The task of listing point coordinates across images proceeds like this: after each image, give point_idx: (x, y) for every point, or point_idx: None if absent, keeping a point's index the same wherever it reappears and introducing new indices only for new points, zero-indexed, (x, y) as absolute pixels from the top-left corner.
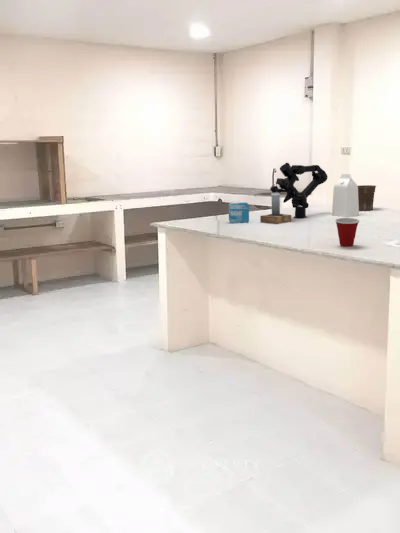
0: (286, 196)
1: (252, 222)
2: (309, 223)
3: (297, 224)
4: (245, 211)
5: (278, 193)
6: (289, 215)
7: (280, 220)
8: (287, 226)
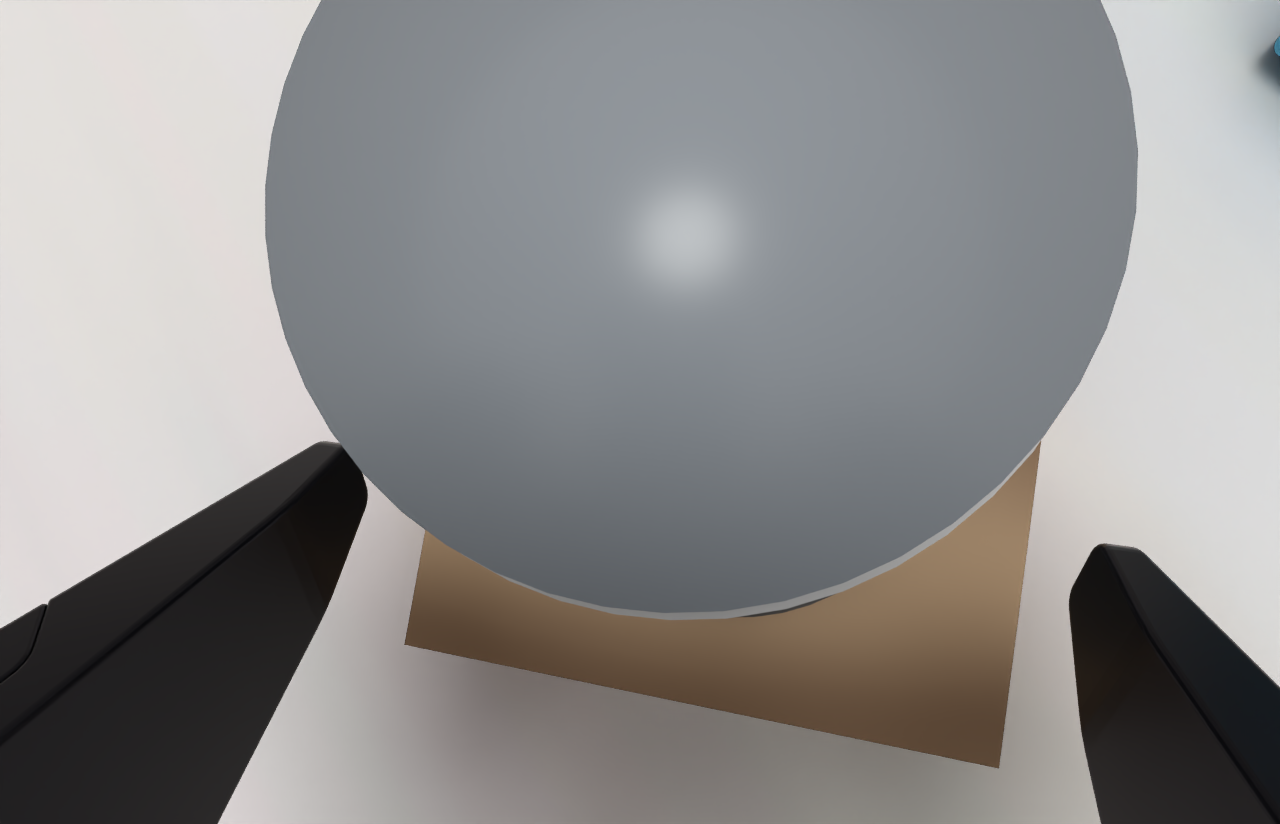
0: (52, 624)
1: (1178, 118)
2: (32, 544)
3: (166, 328)
4: None
5: (295, 134)
6: (417, 578)
7: None
8: (208, 38)
